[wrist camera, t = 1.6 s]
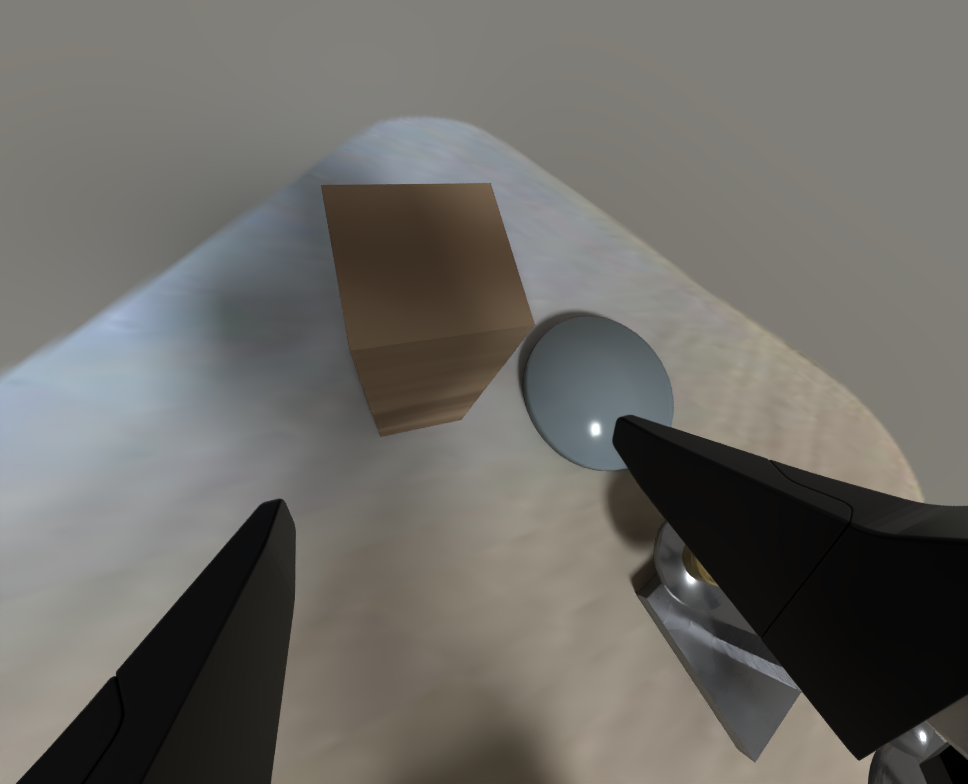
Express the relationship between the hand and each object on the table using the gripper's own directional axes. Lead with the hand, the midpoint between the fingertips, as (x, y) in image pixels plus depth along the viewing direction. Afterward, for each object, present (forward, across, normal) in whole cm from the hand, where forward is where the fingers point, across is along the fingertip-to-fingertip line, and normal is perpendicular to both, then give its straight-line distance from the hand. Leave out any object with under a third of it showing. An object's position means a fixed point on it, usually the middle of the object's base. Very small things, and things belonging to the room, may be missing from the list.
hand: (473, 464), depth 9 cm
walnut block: (+13, 0, +5) cm, 14 cm away
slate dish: (+11, -12, +6) cm, 18 cm away
